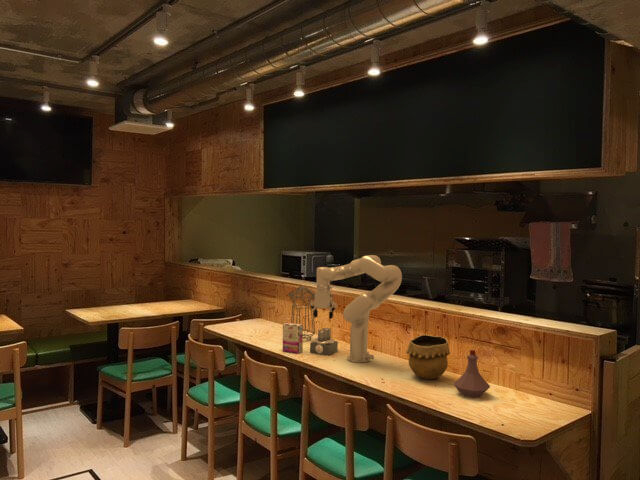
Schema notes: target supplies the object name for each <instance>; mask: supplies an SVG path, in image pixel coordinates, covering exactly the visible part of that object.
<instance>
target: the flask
mask: <svg viewBox="0 0 640 480" xmlns="http://www.w3.org/2000/svg"><path fill="white" fill-rule="evenodd" d="M466 358H467V365H466V369H465V371H464V372H463V374H462V375H461V376H460V377H459V378H458V379H457V380H455V381H454V383H453V386H454V387H455V389H456V390H457V391H458V392H459V394H460V395H462V396H463V397H465V398H471V399H476V398H477V399H478V398H479V399H480V398H481V397H482V396H483V395H484V394H485V393H486V392H487V391H488V390H489V389H490V388H491V385H490V384H489V383H488V382H487V381H486V380H485V378H484V377H483V376H482V375H481V374H480V372H479V371H480V370H479V368H478V362H477V361H478V359H479V356H478V355H477V354H476V350H475V349H470V350H469V354H468V355H467V356H466Z"/></svg>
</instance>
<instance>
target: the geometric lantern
mask: <svg viewBox="0 0 640 480" xmlns="http://www.w3.org/2000/svg"><path fill="white" fill-rule="evenodd" d="M308 294H309V295H308ZM287 295H288V297H289V298H290V300H291V301H292V302H293V303H292V306H291V317H292V318H290V319H291V321H290V323H294V324H301V310H302V309H305V310H304V314H305V315H304V316H305V317H304V329H303V339H305V338H306V339H307V340H305V342H311V341H312V337H313V336H314V335H315V334H316V329H315V327H316V326H314V325H315V318H314V311H313V309H312V308H311V306H310V302H312V301H314V300H315V292H314V291H312V290H311V289H309V288H308V287H306V286H305V285H301V286H299V287H297V288H295V289H294V290H292V291H290V292H288V293H287ZM306 298H307V300H305V299H306ZM309 298H310V299H309ZM297 299H299V300H300V301H302V304H296V302H297ZM311 300H312V301H311ZM306 302H307V303H306ZM304 303H305V304H304ZM298 306H299V308H298ZM302 306H305V307H302ZM294 309H295V310H296V311H298V315H296V318H295V310H294ZM309 310H310V312H311V313H310V312H309ZM310 314H311V327H312V330H310V328H308V329H306V328H307V320H308V325H310ZM294 318H295V319H296V321H294V320H295V319H294ZM298 318H299V320H298ZM307 318H308V319H307ZM295 322H296V323H295ZM306 331H307V332H306ZM309 332H310V333H312V334H308V333H309Z"/></svg>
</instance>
